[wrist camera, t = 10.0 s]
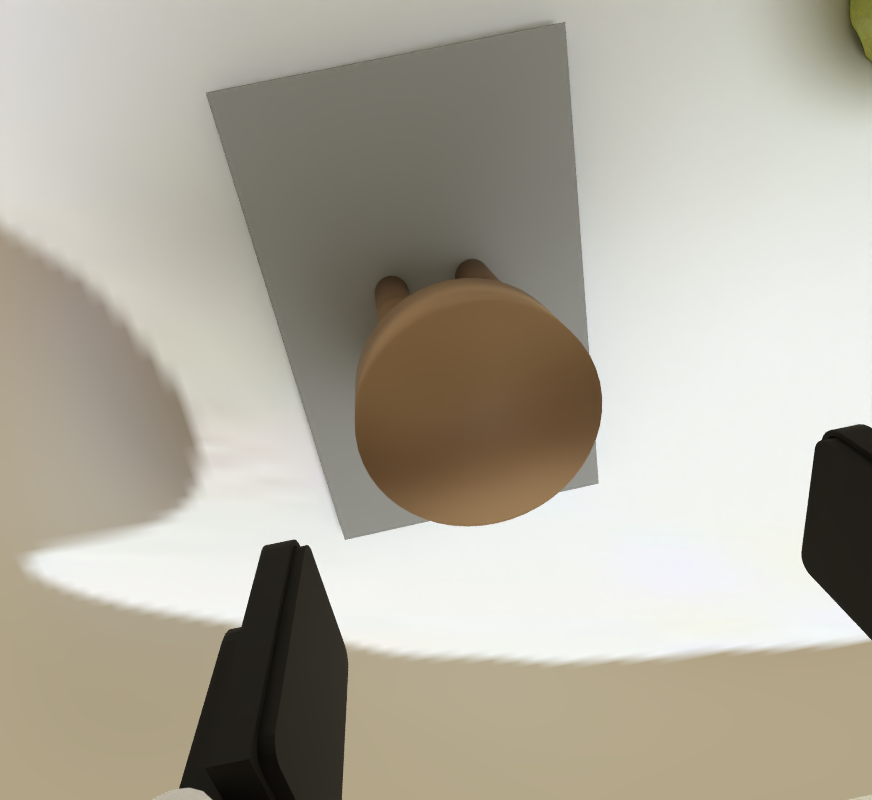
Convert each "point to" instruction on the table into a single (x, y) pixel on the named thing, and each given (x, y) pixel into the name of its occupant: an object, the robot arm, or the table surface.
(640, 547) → the table surface
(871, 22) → the plant pot
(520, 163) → the mat
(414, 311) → the stool
